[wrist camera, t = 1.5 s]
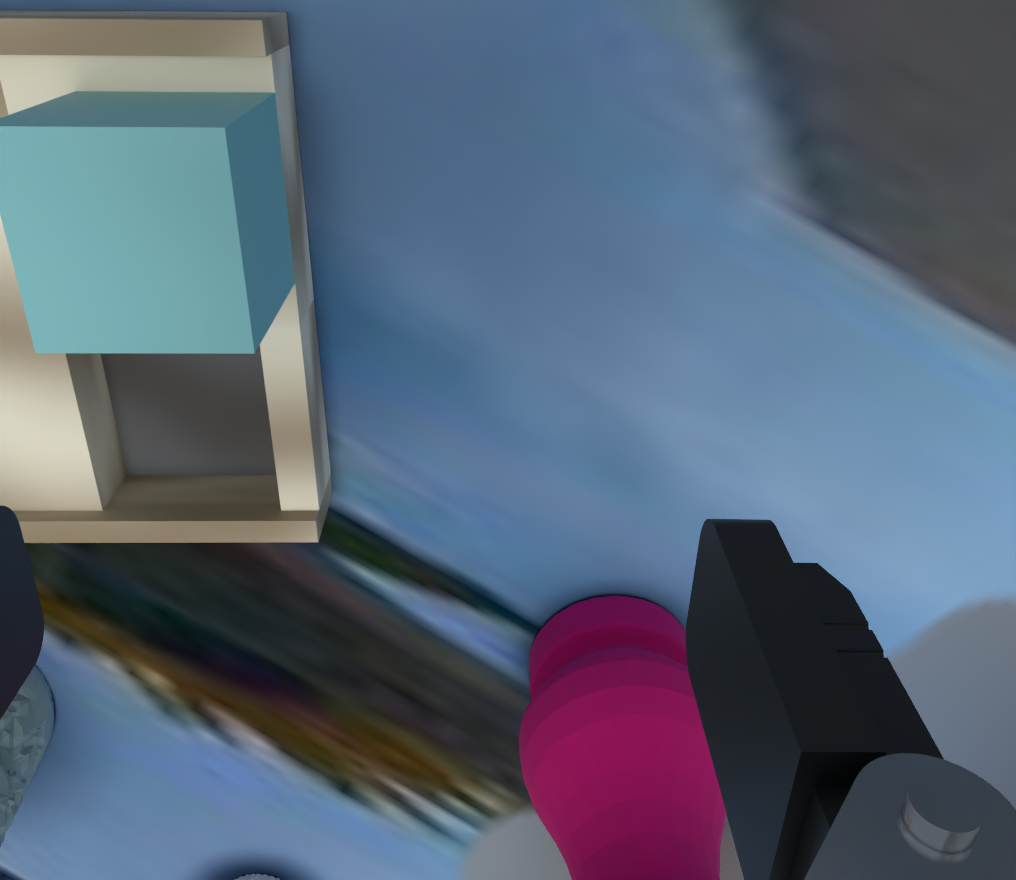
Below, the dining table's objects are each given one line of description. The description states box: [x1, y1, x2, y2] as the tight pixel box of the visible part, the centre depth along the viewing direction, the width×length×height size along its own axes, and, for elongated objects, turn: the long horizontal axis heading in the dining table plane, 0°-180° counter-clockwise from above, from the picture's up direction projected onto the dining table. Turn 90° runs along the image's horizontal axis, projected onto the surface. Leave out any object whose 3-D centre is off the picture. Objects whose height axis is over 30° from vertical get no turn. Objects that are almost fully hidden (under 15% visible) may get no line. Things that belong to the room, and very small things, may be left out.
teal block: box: [0, 91, 295, 354], centre depth 22 cm, size 5×5×5 cm
